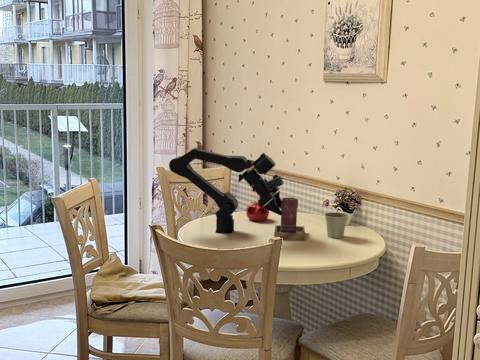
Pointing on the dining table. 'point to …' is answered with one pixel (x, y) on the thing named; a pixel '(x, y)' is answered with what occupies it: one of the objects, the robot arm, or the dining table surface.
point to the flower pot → (335, 224)
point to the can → (289, 215)
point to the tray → (290, 236)
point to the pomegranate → (256, 212)
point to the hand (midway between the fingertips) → (283, 212)
